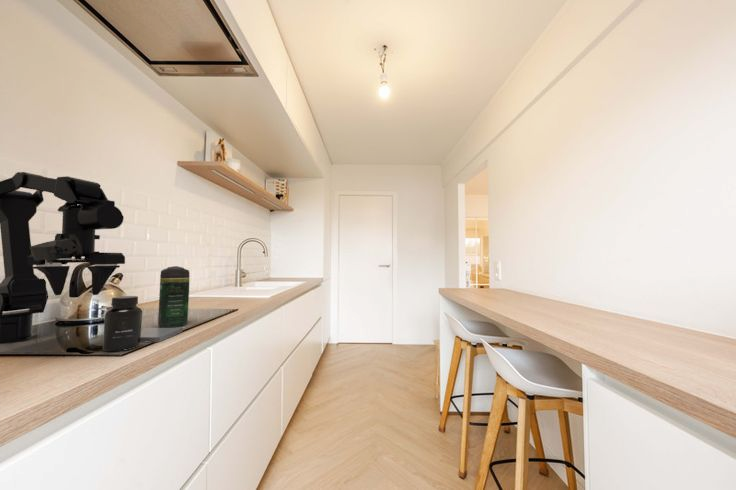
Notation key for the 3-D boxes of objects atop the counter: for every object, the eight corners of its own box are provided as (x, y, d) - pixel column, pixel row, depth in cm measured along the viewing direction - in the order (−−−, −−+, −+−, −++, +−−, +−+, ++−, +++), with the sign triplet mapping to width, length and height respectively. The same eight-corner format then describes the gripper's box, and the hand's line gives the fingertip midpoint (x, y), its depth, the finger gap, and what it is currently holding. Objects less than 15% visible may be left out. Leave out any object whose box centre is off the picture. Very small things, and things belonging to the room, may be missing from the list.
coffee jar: (189, 325, 91) (191, 266, 91) (158, 329, 86) (160, 266, 87) (186, 320, 98) (188, 265, 99) (157, 323, 94) (160, 265, 94)
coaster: (146, 332, 83) (146, 327, 83) (182, 331, 83) (182, 327, 83) (118, 342, 73) (118, 337, 73) (159, 342, 73) (159, 337, 73)
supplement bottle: (118, 353, 65) (121, 299, 65) (94, 351, 66) (97, 298, 66) (147, 344, 71) (149, 295, 72) (125, 342, 73) (127, 294, 73)
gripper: (-2, 227, 62) (-5, 300, 62) (83, 226, 62) (81, 299, 61) (55, 232, 74) (52, 293, 73) (127, 231, 73) (125, 293, 73)
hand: (76, 294), depth 70 cm, fingers open, 9 cm apart
